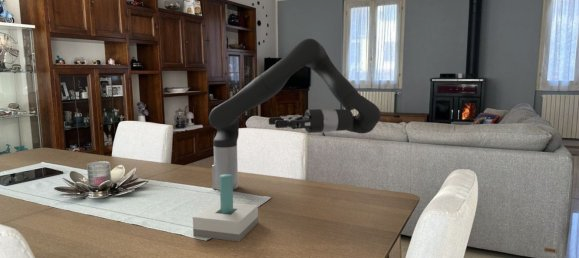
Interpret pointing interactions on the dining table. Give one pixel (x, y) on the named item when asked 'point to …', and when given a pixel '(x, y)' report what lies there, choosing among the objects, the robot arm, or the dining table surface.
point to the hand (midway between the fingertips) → (272, 122)
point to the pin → (226, 194)
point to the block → (225, 222)
